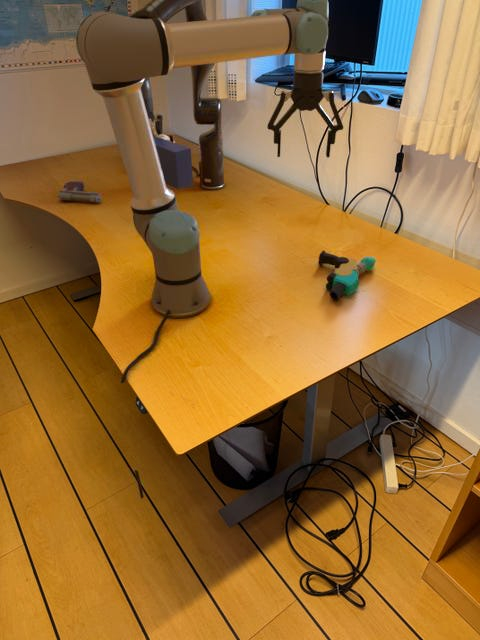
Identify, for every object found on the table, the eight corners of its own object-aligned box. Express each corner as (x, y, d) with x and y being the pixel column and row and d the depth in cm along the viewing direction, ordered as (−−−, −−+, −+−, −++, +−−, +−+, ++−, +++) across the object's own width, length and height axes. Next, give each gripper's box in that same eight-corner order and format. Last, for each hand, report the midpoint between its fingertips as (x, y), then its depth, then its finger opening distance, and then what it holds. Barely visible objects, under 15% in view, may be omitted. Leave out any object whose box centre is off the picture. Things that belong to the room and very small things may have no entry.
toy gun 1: (114, 191, 191) (98, 206, 179) (71, 188, 194) (53, 202, 182) (113, 181, 188) (96, 196, 177) (69, 179, 192) (50, 192, 180)
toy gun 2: (295, 281, 124) (351, 295, 119) (328, 242, 143) (378, 253, 137) (294, 295, 127) (349, 310, 121) (327, 255, 145) (375, 266, 140)
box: (193, 185, 151) (190, 148, 145) (178, 189, 148) (175, 152, 141) (151, 168, 166) (147, 133, 159) (137, 172, 162) (132, 137, 156)
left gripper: (356, 68, 122) (346, 152, 135) (260, 68, 124) (259, 151, 136) (360, 73, 116) (349, 160, 129) (258, 73, 118) (257, 159, 130)
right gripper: (152, 90, 154) (158, 144, 164) (113, 97, 147) (122, 152, 156) (165, 94, 150) (171, 148, 160) (126, 101, 142) (134, 158, 152)
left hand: (303, 155), depth 133 cm, fingers open, 13 cm apart
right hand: (146, 150), depth 158 cm, fingers closed on box, 6 cm apart
